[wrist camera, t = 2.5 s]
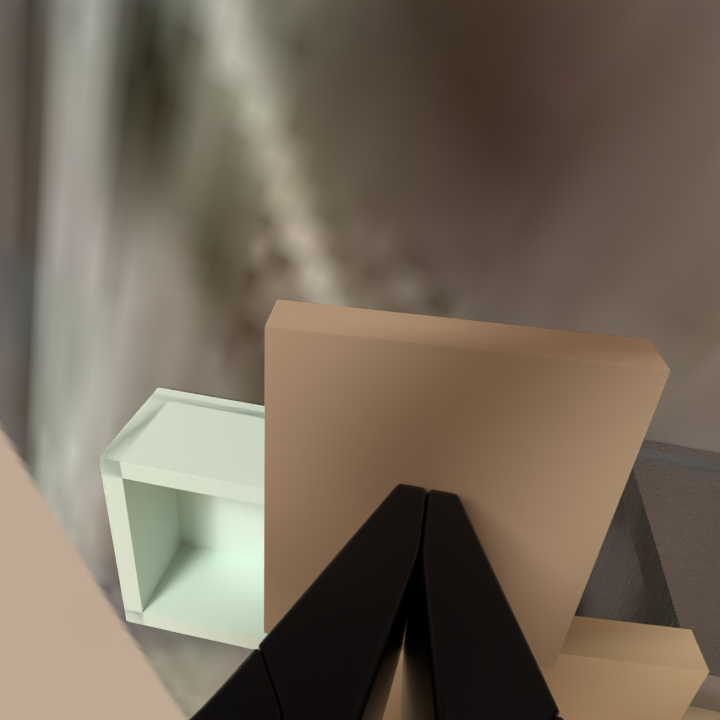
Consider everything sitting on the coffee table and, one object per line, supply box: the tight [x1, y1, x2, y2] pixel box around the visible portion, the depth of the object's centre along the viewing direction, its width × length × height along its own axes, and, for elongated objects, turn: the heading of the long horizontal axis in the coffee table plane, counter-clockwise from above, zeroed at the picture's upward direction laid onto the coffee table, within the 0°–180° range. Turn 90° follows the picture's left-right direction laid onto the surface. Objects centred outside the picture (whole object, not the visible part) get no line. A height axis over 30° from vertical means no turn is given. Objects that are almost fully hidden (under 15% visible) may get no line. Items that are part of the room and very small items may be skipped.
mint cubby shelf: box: [99, 388, 268, 649], centre depth 19 cm, size 10×7×4 cm
